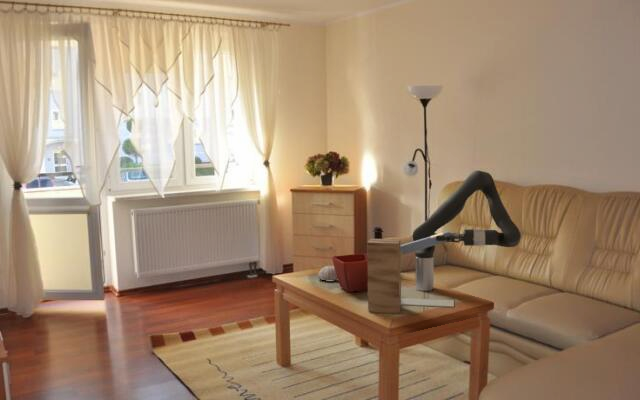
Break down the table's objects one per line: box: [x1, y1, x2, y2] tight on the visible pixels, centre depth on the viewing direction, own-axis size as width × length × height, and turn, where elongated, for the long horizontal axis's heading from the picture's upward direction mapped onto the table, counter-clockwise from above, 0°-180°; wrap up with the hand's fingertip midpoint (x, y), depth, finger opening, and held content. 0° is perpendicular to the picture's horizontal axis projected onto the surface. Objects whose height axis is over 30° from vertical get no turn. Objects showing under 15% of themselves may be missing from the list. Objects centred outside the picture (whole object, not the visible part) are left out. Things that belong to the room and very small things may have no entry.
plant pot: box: [331, 253, 368, 293], centre depth 291 cm, size 19×19×17 cm
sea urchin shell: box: [317, 265, 338, 281], centre depth 313 cm, size 13×14×8 cm
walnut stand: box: [366, 238, 402, 314], centre depth 252 cm, size 11×14×32 cm
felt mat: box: [401, 297, 455, 308], centre depth 262 cm, size 10×26×1 cm, turn 76°
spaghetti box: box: [401, 230, 451, 256], centre depth 258 cm, size 4×24×4 cm, turn 79°
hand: (436, 237), depth 257 cm, fingers closed on spaghetti box, 4 cm apart
